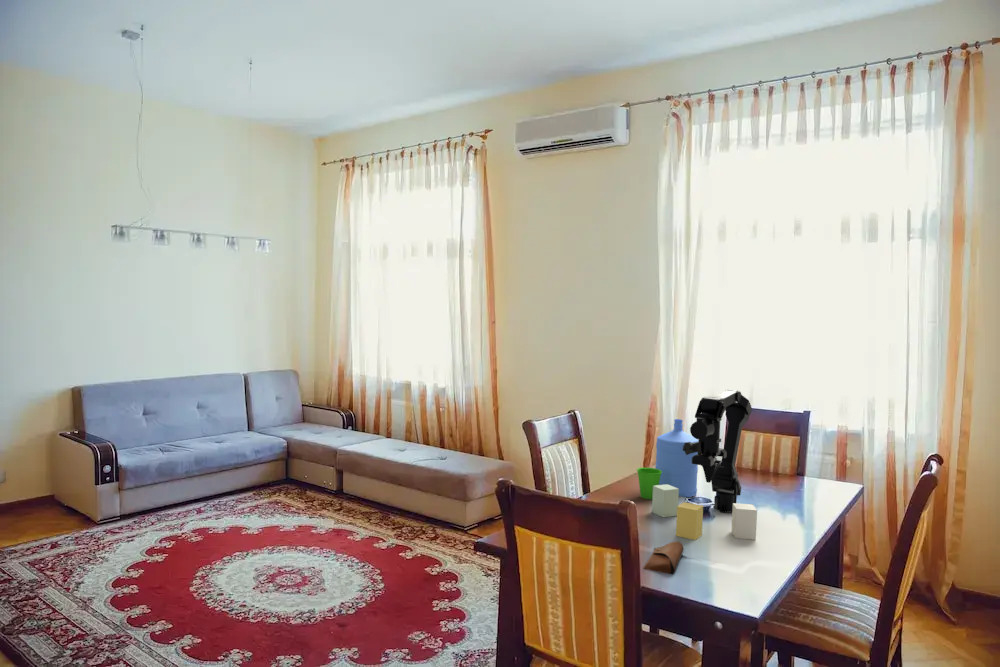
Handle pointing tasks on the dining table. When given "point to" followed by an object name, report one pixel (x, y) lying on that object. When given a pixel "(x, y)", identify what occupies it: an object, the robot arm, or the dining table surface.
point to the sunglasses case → (665, 558)
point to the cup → (648, 481)
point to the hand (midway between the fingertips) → (708, 482)
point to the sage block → (665, 500)
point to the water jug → (677, 461)
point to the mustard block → (689, 520)
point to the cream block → (744, 521)
